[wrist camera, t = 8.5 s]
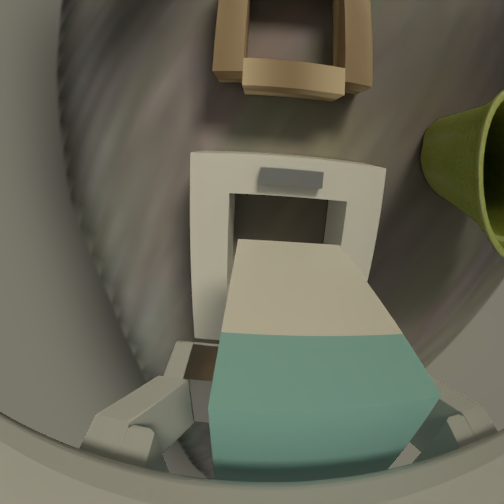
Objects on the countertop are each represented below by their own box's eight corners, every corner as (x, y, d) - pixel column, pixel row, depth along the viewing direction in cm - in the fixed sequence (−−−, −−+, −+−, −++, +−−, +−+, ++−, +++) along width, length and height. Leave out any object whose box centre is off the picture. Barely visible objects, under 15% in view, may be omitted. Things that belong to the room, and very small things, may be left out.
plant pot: (434, 243, 19) (504, 297, 11) (373, 136, 17) (450, 138, 9) (502, 178, 17) (576, 204, 9) (455, 76, 14) (535, 62, 6)
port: (361, 162, 17) (390, 169, 13) (337, 311, 21) (353, 348, 17) (205, 150, 17) (188, 153, 13) (204, 305, 21) (193, 342, 17)
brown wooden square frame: (353, -12, 13) (366, -31, 10) (355, 105, 16) (372, 100, 13) (229, -25, 13) (224, -47, 10) (219, 93, 16) (211, 84, 13)
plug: (339, 245, 11) (440, 394, 4) (319, 345, 13) (357, 500, 6) (238, 238, 11) (207, 407, 4) (234, 342, 13) (218, 506, 6)
